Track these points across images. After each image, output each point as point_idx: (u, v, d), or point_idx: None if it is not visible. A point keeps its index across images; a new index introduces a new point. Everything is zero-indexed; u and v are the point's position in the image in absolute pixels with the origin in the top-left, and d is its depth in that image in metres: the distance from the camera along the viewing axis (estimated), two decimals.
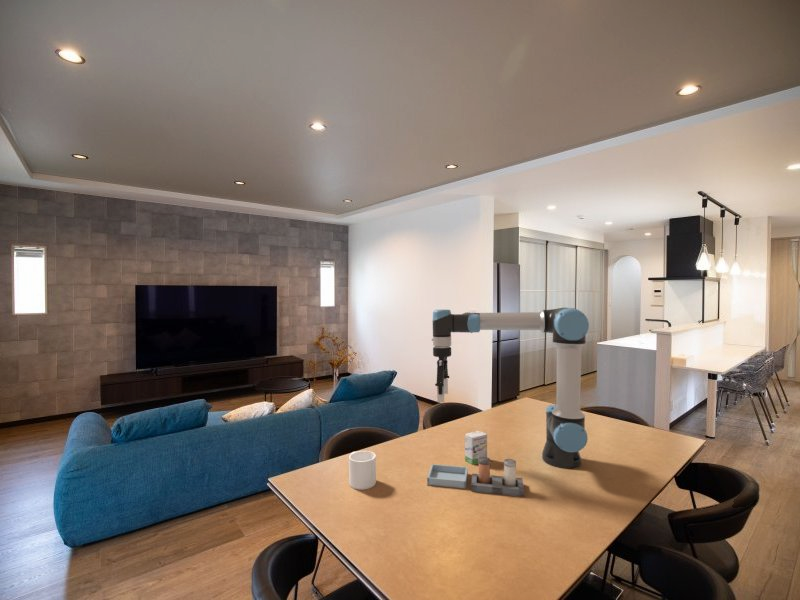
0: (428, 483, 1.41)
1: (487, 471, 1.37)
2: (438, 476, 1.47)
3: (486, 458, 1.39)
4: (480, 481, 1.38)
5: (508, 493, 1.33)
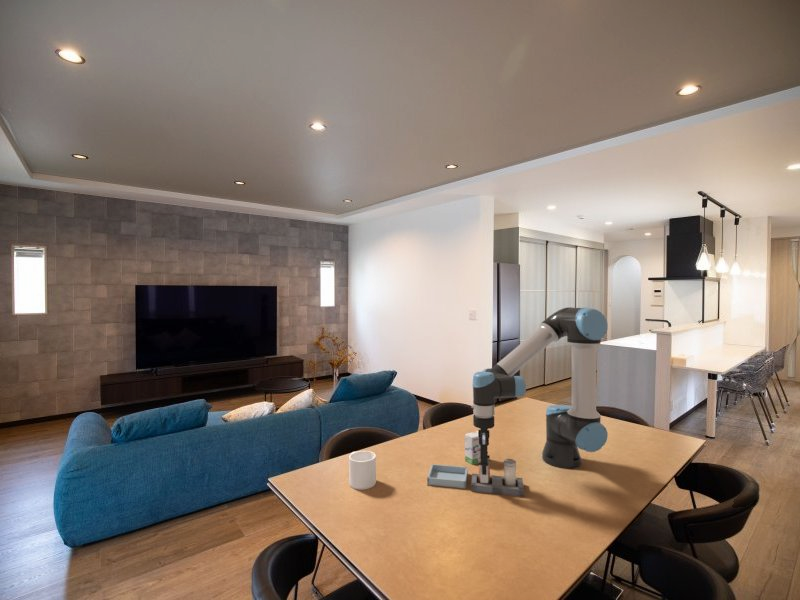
0: (428, 483, 1.41)
1: None
2: (438, 476, 1.47)
3: None
4: None
5: (508, 493, 1.33)
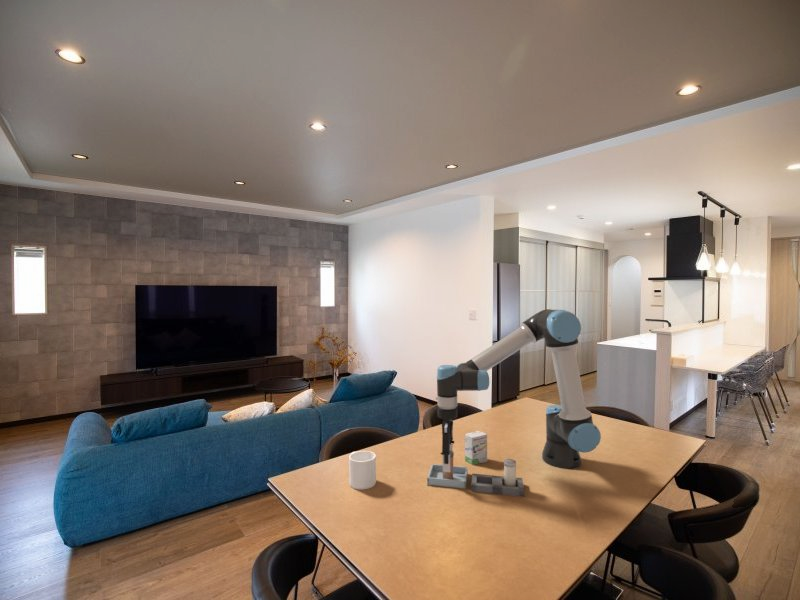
0: (428, 483, 1.41)
1: (450, 464, 1.43)
2: (438, 476, 1.47)
3: (450, 451, 1.45)
4: (444, 473, 1.44)
5: (508, 493, 1.33)
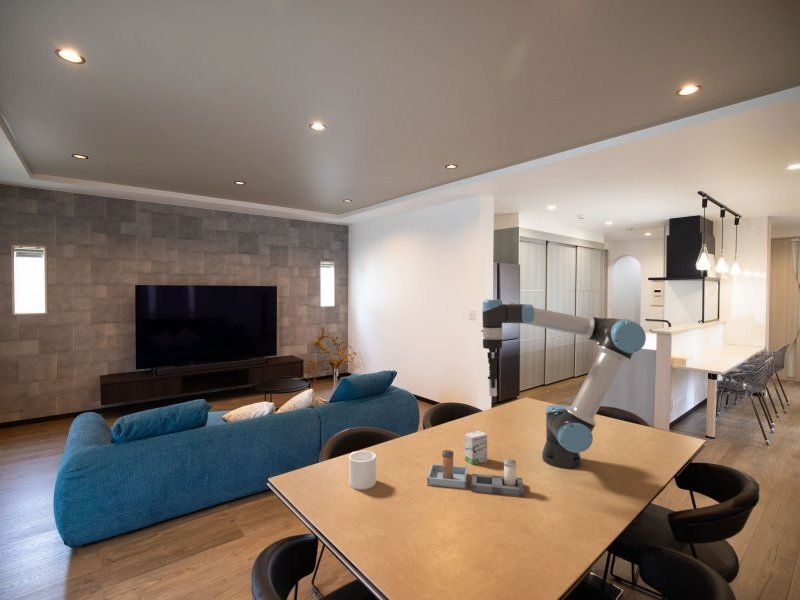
0: (428, 483, 1.41)
1: (450, 464, 1.43)
2: (438, 476, 1.47)
3: (450, 451, 1.45)
4: (444, 473, 1.44)
5: (508, 493, 1.33)
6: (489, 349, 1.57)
